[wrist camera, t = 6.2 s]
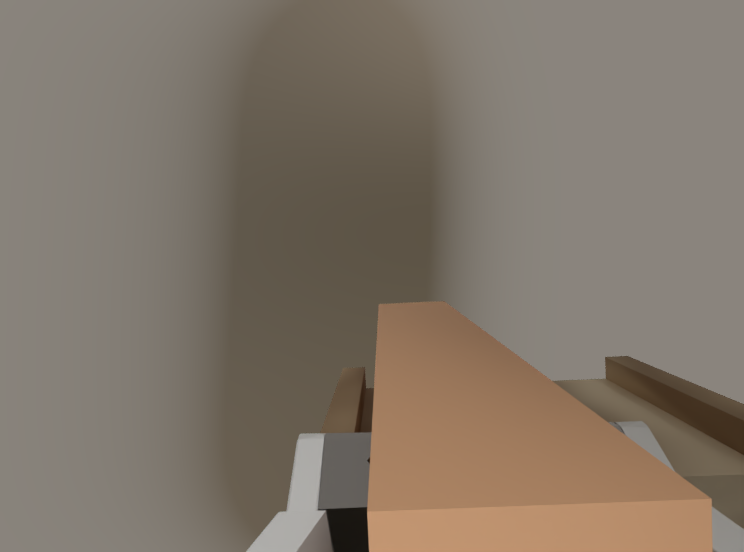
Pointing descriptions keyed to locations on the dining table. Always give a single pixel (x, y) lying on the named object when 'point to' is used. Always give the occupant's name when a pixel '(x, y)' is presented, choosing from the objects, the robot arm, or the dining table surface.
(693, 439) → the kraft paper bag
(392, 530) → the bar
